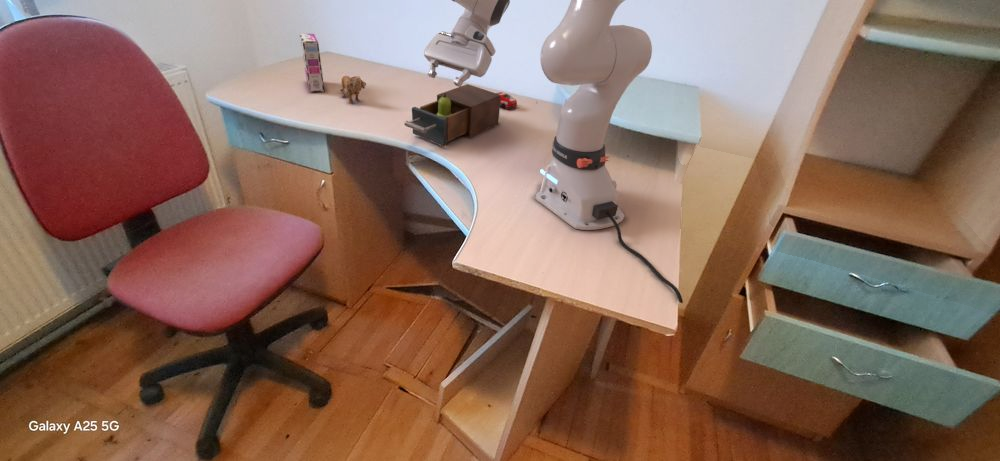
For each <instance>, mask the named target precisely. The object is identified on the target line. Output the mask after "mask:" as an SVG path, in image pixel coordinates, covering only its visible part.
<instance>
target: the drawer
mask: <svg viewBox="0 0 1000 461" xmlns="http://www.w3.org/2000/svg"><path fill="white" fill-rule="evenodd" d="M438 101H439V100H438ZM438 101H437V100H434V101H432V102H429V103H426V104H424V105H421V106H419V107H417V106H412V107H411V118H412V119H411V120H405V121H404V126H405V127H407V128H410V129H412V134H413V135H415V136H417V137H419V138H420V137H421V138H422V139H424V140H427V141H430V142H432V143H434V144H437V145H439V146H443V147H446V146H447V143H448V142H450V141H452V140H455V139H457V138H459V137H461V136H464V135H463V134H465V133H468V127H469V108H466V107H463V106H460V105H457V104H455V103H452V102H451V113H452V114H451V115H449V116H446V118H443V117H441V116H438V115H436V114H437V113H438Z"/></svg>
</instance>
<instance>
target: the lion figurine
mask: <svg viewBox="0 0 1000 461" xmlns="http://www.w3.org/2000/svg"><path fill="white" fill-rule="evenodd" d="M366 85H367V82H365V81H363V80H362V79H361V76H360V75H354V76H349V75H343V76H342V77H341V89H340V92H342V94H341V97H342V98H346V91H347V96H348V100H349V102H348V103H349V104H351V105H353V104H354V100H355V102H357V103H359V102H361V100H360V99H359V94H360V92H362V90H364V89H366ZM353 96H354V100H353Z"/></svg>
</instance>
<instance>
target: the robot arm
mask: <svg viewBox="0 0 1000 461" xmlns="http://www.w3.org/2000/svg"><path fill="white" fill-rule="evenodd" d="M451 1H452V2H455V3H457V4H458V5H460V6H462V8H464V11H463V13H462V15H460V17H459V18H458V19H457V21H456V23H455V25H454V26H453V28H452V30H451V32H446V31H441V32H438V33H436V34H435V35H434V36H433V37H432V38H431V40H430V41H429V43H428V44H427V45H426V46H425V48H424V50H423V56H424V58H425V59H426V60H427V61H428V62H429V70H428V71H427V76H428V77H430V78H432V79H435V78H436V76H437V75H438V73H437V71H436V68H438V67H439V66H442V67H445V68H449V69H452V70H454V71H458V72H461V73H462V74H461V75H460V76H456V77H455V79H454V80H453V84H454V85H455V86H456V87H461V86H463V84H464V82H466V81H468V80H469V79H470V78H471V76H474V77H478V78H482V77H483V76H485V75H486V73H487V72H488V70H489V68H490V66H491V64H492V61H493V56H494V55H495V53H496V49H495V45H493V43H492V40H490V38H489V37H488V32H489V30H490V29H491V28H492V27H493V26H496V25H498V24H500V22H501V19H502V17H503V15H504V14H505V12H506V11H507V10H508V8H509V5H510V3H511V0H451ZM625 1H626V0H570V2H569V5H568V7H567V10H566V11H565V13H564V15H563V18H562V19H561V20H560V22H559V24H558V25H557V26H556V28H555V29H553V31H552V32H550V34H549V35H547V37H545V40H544V41H543V43H542V46H541V50H540V54H539V55H540V56H539V57H540V59H539V60H540V66H541V70H542V73H543V74H544V76H545V77H546V78H547V80H548V81H549V82H551V83H553V84H558V85H563V86H573V87H575V86H579V87H578V88H577V90H576V91H575V92H574V93H573V94H572V95H570V96H569V97H568V98H567V99H566V100H565V101H564V103H563V104H562V106H561V108H560V113H559V119H558V123H557V124H558V125H557V131H556V135H555V136H554V138H553V142H552V145H551V146H552V148H551V154H552V156H551V158H550V160H549V162H548V164H547V165H546V168H545V170H544V169H543V168H541V169H540V172H539V173H540V174H542V175H543V177H542V182H541V186H540V189H539V191H538V192H537V193H536V194H535V200H536V201H537V202H539V204H541V205H542V206H544V207H545V208H546V209H548V210H550V211H551V212H552V213H554V214H555V215H556V216H557V217H559V218H560V219H561V220H563V221H564V222H565V223H567V224H568V225H570V226H571V227H572V228H574V229H576V230H579V231H580V230H581V231H594V230H595V231H596V230H601V229H607V228H610V227H611V228H612V227H615V230H616V232H617V239H618V241H619V243H620V245H621V246H622V247H623V248H624V249H625V250H626V251H628V252H630V253H632V254H633V255H635V256H637V257H638V258H639V259H640V260H642V262H644V264H646V266H647V267H648V268H649V269H650V270H651V271H652V272H653V273H654V274H655V275H656V277H658V279H660V281H662V282H663V283H664V284H666V285H667V286H668V287H669V288H671V289H672V290H673V291H674V293H675V295H676V297H677V300H678V302H679V303H680V304H684V300H683V296H682V295H681V293H680V291H679V289H678V287H676V285H674V284H673V283H672V282H671V281H669V280H668V279H667V278H665V277H664V276H663V275H662V273H660V272H659V271H658V269H656V268H655V267H654V265H653V264H652V263H651V262H649V260H648V259H647V258H646V257H644V256H643V255H642V254H641V253H640V252H638V251H636V250H634V249H633V248H631V247H630V246H628V245H627V244H626V242H624V240H623V237H622V231H621V228H620V226H619V224H620V223H622V222H623V221H624V219H625V214H624V212H623V211H622V209H621V208H620V207H619V205H618V198H619V197H618V191H617V187H618V186H617V181H615V180H612V178H611V175H610V173H609V171H608V168H607V166H606V162H609V161H610V159H609V158H610V156H609V155H606V152H607V151H606V150H607V149H606V144H605V142H606V138H607V134H608V130H609V127H610V123H611V119H612V116H613V114H614V111H615V109H616V107H617V105H618V103H619V102H620V100H621V98H622V96H623V95H624V93H625V92H626V90H627V89H628V87H629V86H630V85H631V84H632V82H633V81H634V80H635V79H636V78H637V77H638V76H639V75H640V74H642V73H643V72H644V71H645V70H646V69H647V68H648V66H649V64H650V62H651V59H652V55H653V53H652V52H653V46H652V45H653V44H652V41H651V38H650V36H649V35H648V33H647V32H646V31H644V30H643V29H641V28H638V27H634V26H631V25H625V24H617V25H616V24H614V25H611V21H612V20H613V17H614V14H615V13H616V11H617V9H618V8H619V7H620V5H621V4H622V3H623V2H625Z"/></svg>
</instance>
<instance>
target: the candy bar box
mask: <svg viewBox="0 0 1000 461" xmlns="http://www.w3.org/2000/svg"><path fill="white" fill-rule="evenodd" d="M299 39H300V45H301V46H300V47H301V53H302V60H303V66H304V73H305V78H306V83H307V87H308V89H309V93H323V92H325V91H326V90H325V84H324V76H323V68H322V62H321V53H320V46H319V45H320V44H319V41H318V38H317V37H316V35H315V33H299Z"/></svg>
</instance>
